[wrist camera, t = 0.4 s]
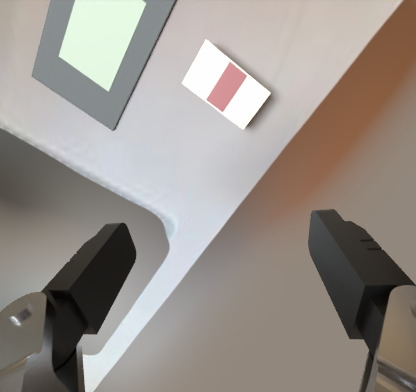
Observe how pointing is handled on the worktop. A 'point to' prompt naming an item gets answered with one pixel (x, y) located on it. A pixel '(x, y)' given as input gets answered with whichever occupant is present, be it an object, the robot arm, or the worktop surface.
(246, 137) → the worktop surface
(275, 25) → the worktop surface
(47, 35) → the mat
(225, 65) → the card deck
